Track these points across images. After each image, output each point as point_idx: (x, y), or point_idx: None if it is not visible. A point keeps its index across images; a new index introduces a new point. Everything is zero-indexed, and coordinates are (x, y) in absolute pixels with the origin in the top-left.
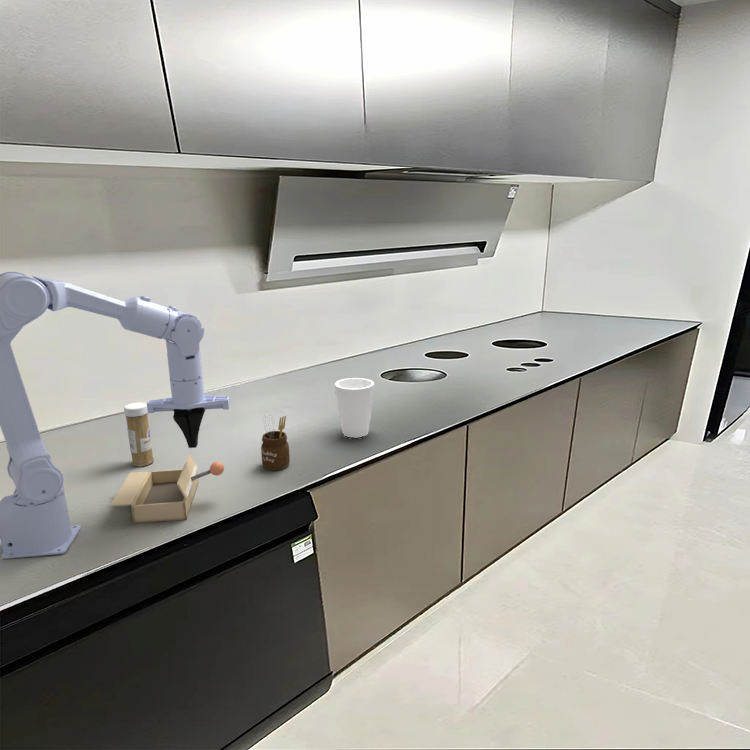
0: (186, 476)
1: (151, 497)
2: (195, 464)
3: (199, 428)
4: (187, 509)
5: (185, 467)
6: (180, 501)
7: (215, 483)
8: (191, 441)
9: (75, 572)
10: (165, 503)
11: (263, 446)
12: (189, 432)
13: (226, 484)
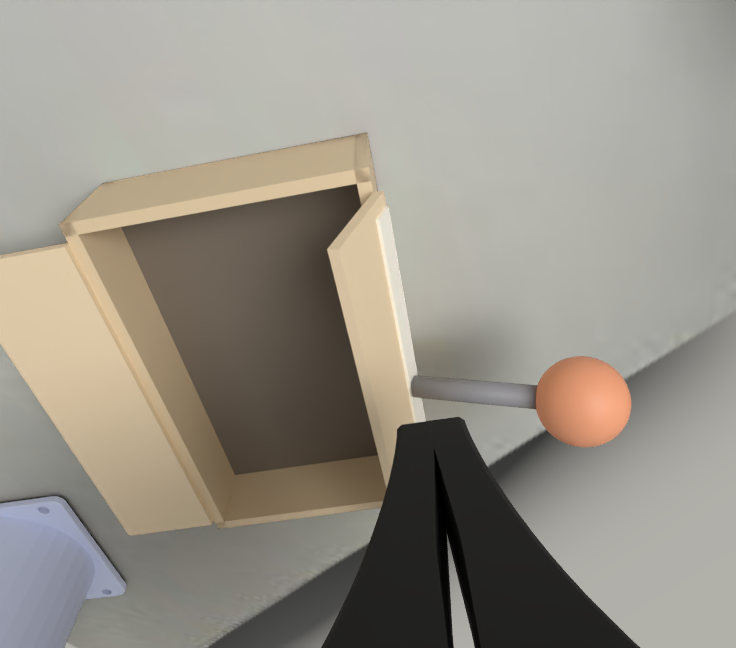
0: None
1: (202, 343)
2: (376, 220)
3: (521, 520)
4: None
5: (385, 432)
6: None
7: (474, 128)
8: (445, 535)
9: (218, 625)
10: (350, 509)
11: None
12: (451, 632)
13: (545, 140)
